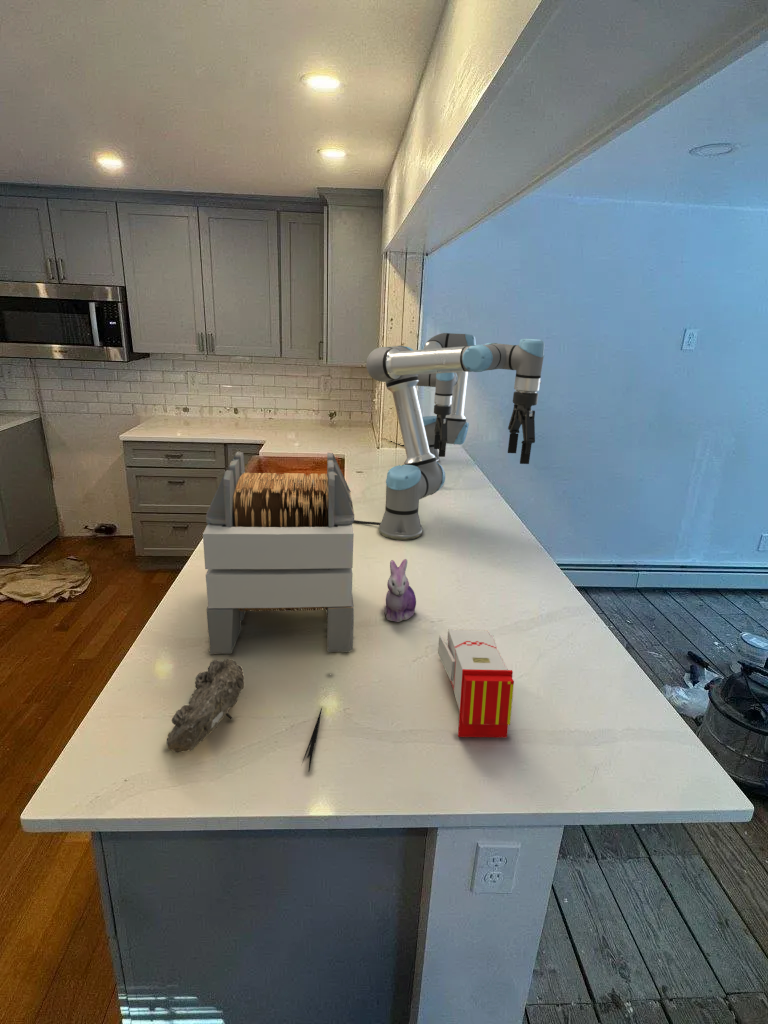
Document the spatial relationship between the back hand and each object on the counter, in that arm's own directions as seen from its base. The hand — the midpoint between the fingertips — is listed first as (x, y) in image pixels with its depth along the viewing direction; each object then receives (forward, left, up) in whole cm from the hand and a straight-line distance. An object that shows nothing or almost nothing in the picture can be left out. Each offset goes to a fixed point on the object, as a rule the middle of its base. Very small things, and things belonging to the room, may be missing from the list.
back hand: (439, 452), depth 252 cm
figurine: (+116, -22, -15) cm, 119 cm away
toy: (+147, -9, -15) cm, 148 cm away
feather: (+156, -40, -15) cm, 162 cm away
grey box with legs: (+119, -52, -15) cm, 130 cm away
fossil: (+156, -60, -15) cm, 168 cm away
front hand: (+69, +16, +16) cm, 73 cm away
